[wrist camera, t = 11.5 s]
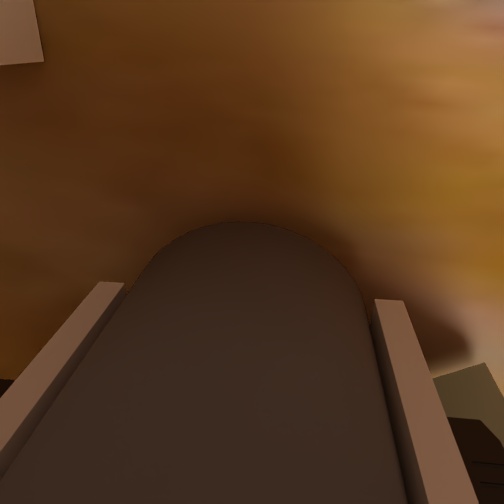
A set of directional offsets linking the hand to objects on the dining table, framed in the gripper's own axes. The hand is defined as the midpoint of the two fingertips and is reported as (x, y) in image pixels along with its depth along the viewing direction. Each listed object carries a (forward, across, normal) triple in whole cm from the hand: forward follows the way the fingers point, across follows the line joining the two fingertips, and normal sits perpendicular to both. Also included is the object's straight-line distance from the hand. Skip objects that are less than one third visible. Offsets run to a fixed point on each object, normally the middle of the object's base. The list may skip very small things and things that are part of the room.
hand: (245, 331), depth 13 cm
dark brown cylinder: (0, 0, 0) cm, 0 cm away
